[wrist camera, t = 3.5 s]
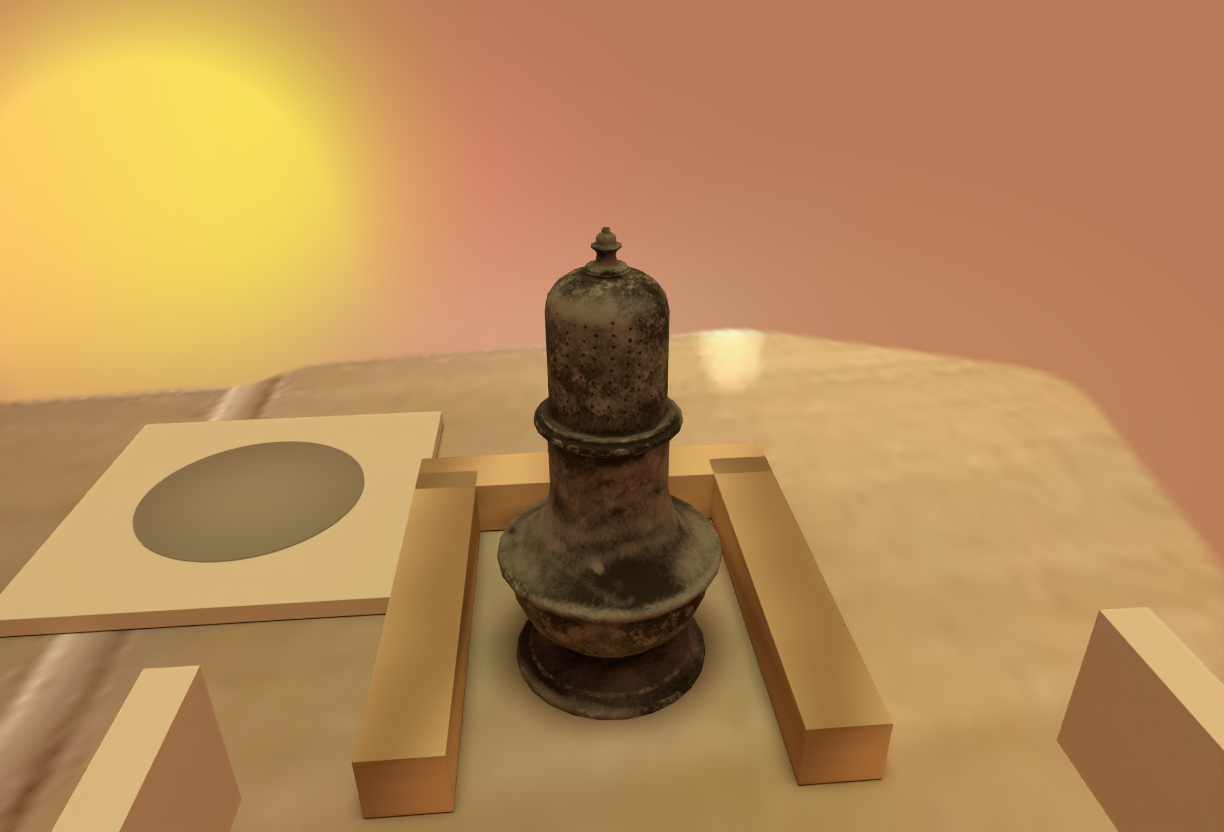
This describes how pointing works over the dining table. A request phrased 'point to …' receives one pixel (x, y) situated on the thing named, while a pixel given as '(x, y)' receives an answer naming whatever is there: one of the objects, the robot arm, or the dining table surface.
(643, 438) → the salt shaker
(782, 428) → the dining table surface
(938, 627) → the dining table surface
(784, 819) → the dining table surface
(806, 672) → the block
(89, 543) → the cream square board
